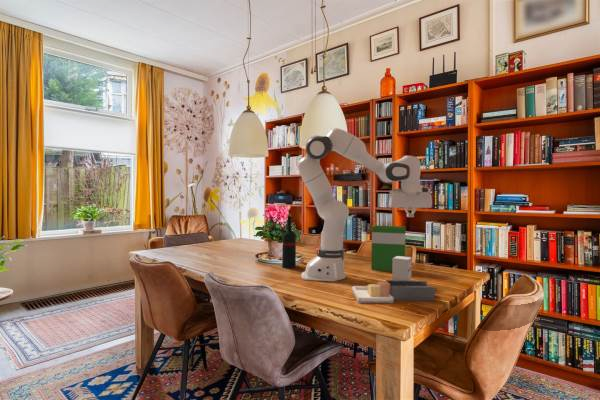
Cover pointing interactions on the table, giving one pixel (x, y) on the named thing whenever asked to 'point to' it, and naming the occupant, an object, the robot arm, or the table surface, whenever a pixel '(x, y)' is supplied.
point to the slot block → (411, 290)
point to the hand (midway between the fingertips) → (410, 216)
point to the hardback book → (386, 246)
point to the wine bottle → (289, 247)
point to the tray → (363, 296)
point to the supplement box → (401, 268)
